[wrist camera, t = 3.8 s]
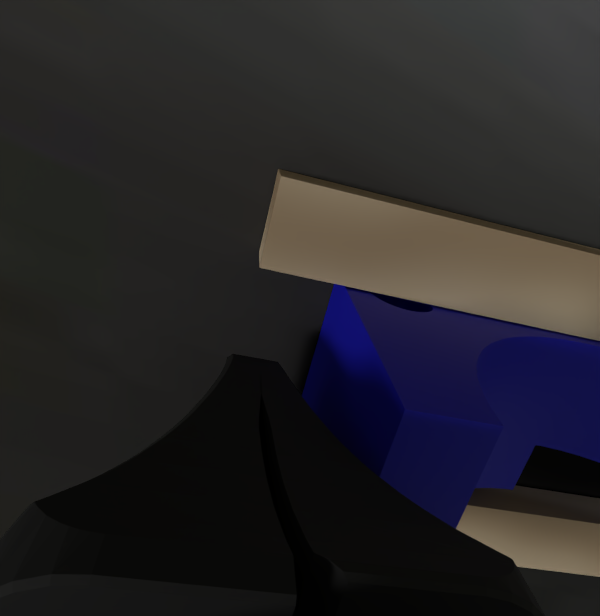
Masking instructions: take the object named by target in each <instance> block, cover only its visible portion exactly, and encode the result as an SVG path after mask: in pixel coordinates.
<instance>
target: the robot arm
mask: <svg viewBox="0 0 600 616" xmlns="http://www.w3.org/2000/svg"><path fill="white" fill-rule="evenodd" d="M0 616H545V615H544V613H543V611H542V610H541V608H540V606H539V604H538V603H537V601H536V599H535V597H534V595H533V594H532V592H531V590H530V588H529V587H528V585H527V583H526V581H525V580H524V578H523V576H522V574H521V573H520V571H519V569H518V567H517V566H516V564H515V563H514V561H513V559H511V558H510V557H508V556H506V555H504V554H502V553H500V552H498V551H496V550H494V549H493V548H491V547H489V546H487V545H485V544H483V543H481V542H479V541H477V540H476V539H474V538H472V537H470V536H468V535H466V534H464V533H462V532H460V531H459V530H457V529H455V528H453V527H452V526H450V525H448V524H447V523H445V522H444V521H442V520H440V519H439V518H437V517H436V516H434V515H432V514H431V513H429V512H428V511H426V510H424V509H423V508H421V507H420V506H418V505H417V504H415V503H414V502H412V501H411V500H410V499H408V498H407V497H405V496H404V495H402V494H401V493H400V492H398V491H397V490H396V489H394V488H393V487H392V486H390V485H389V484H388V483H387V482H385V481H384V480H383V479H381V478H380V477H379V476H377V475H376V474H375V473H374V472H373V471H371V470H370V469H369V468H368V467H367V466H366V465H364V464H363V463H362V462H361V461H360V460H359V459H358V458H357V457H356V456H355V455H354V454H353V453H351V452H350V451H349V450H348V449H347V448H346V447H345V446H344V445H343V444H342V443H341V442H340V441H339V440H338V439H337V438H336V437H335V436H334V435H333V433H332V432H331V431H330V430H329V429H328V428H327V427H326V426H325V424H324V423H323V422H322V421H321V420H320V419H319V417H318V416H317V415H316V414H315V413H314V411H313V410H312V409H311V408H310V406H309V405H308V404H307V402H306V401H305V400H304V398H303V397H302V396H301V394H300V393H299V392H298V390H297V389H296V387H295V386H294V385H293V383H292V382H291V380H290V379H289V377H288V376H287V374H286V373H285V371H284V370H283V368H282V367H281V366H280V364H279V363H278V362H275V361H270V360H264V359H259V358H253V357H247V356H242V355H236V354H232V355H231V356H229V357H227V360H226V364H225V367H224V369H223V370H222V372H221V374H220V375H219V377H218V378H217V380H216V381H215V383H214V384H213V385H212V387H211V388H210V389H209V391H208V392H207V393H206V394H205V396H204V397H203V398H202V399H201V400H200V401H199V402H198V403H197V404H196V406H195V407H194V408H193V409H192V410H191V411H190V412H189V413H188V414H187V415H186V416H185V417H184V418H183V419H182V420H181V421H180V422H179V423H177V424H176V425H175V426H174V427H173V428H172V429H170V430H169V431H168V432H167V433H166V434H164V435H163V436H162V437H161V438H159V439H158V440H157V441H155V442H154V443H152V444H151V445H150V446H148V447H147V448H145V449H144V450H143V451H141V452H140V453H138V454H137V455H135V456H134V457H132V458H130V459H129V460H127V461H125V462H123V463H122V464H120V465H118V466H116V467H114V468H112V469H111V470H109V471H107V472H105V473H103V474H102V475H100V476H97V477H95V478H93V479H91V480H89V481H87V482H84V483H82V484H79V485H77V486H74V487H72V488H69V489H67V490H64V491H61V492H59V493H56V494H54V495H51V496H49V497H46V498H43V499H41V500H38V501H35V502H33V503H32V504H30V505H29V506H28V508H27V509H26V510H25V511H24V512H23V513H22V514H21V515H20V517H19V518H18V519H17V520H16V521H15V522H14V524H13V525H12V526H11V527H10V528H9V530H8V531H7V532H6V533H5V534H4V536H3V537H2V538H1V540H0Z"/></svg>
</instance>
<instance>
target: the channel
mask: <svg viewBox="0 0 600 616" xmlns="http://www.w3.org/2000/svg"><path fill="white" fill-rule="evenodd" d="M259 262H260V268H263V269H268V270H273V271H277V272H282V273H287V274H291V275H296V276H300V277H305V278H310V279H314V280H319V281H324V282H328V283H333V284H338V285H342V286H347V287H351V288H356V289H361V290H365V291H370V292H375V293H379V294H384V295H389V296H393V297H398V298H403V299H407V300H412V301H416V302H421V303H426V304H430V305H435V306H440V307H444V308H449V309H454V310H458V311H463V312H467V313H472V314H477V315H481V316H486V317H491V318H495V319H500V320H505V321H509V322H514V323H518V324H523V325H528V326H532V327H537V328H542V329H546V330H551V331H556V332H560V333H565V334H569V335H574V336H579V337H583V338H588V339H593V340H597V341H600V249H596V248H592V247H588V246H584V245H580V244H576V243H572V242H568V241H564V240H560V239H556V238H552V237H548V236H544V235H540V234H536V233H532V232H528V231H524V230H520V229H516V228H512V227H508V226H504V225H500V224H496V223H492V222H488V221H484V220H480V219H476V218H472V217H468V216H464V215H460V214H456V213H452V212H448V211H444V210H440V209H436V208H432V207H428V206H424V205H420V204H417V203H413V202H409V201H405V200H401V199H397V198H393V197H389V196H385V195H381V194H377V193H373V192H369V191H365V190H361V189H357V188H353V187H349V186H345V185H341V184H337V183H333V182H329V181H325V180H321V179H317V178H313V177H309V176H305V175H301V174H297V173H293V172H289V171H285V170H281V169H278V173H277V178H276V182H275V186H274V191H273V195H272V199H271V203H270V208H269V212H268V216H267V221H266V225H265V229H264V234H263V238H262V242H261V247H260V251H259ZM456 529H457V530H459V531H460V532H462V533H464V534H466V535H468V536H470V537H472V538H474V539H476V540H477V541H479V542H481V543H483V544H485V545H487V546H489V547H491V548H493V549H494V550H496V551H498V552H500V553H502V554H504V555H506V556H508V557H510V558H511V559H513V561H514V563H515V564H516V566H517V567H525V568H533V569H542V570H550V571H558V572H566V573H574V574H582V575H590V576H598V577H600V498H594V497H587V496H581V495H575V494H568V493H562V492H555V491H549V490H542V489H536V488H529V487H523V486H516V485H515V487H514V489H513V490H509V489H498V488H475V489H474V491H473V493H472V496H471V498H470V500H469V502H468V504H467V506H466V508H465V511H464V513H463V515H462V517H461V519H460V521H459V523H458V525H457V528H456Z"/></svg>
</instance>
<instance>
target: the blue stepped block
mask: <svg viewBox="0 0 600 616" xmlns="http://www.w3.org/2000/svg"><path fill="white" fill-rule="evenodd" d="M302 397H303V398H304V400H305V401H306V402H307V404H308V405H309V406H310V408H311V409H312V410H313V411H314V413H315V414H316V415H317V416H318V417H319V419H320V420H321V421H322V422H323V423H324V424H325V426H326V427H327V428H328V429H329V430H330V431H331V432H332V433H333V435H334V436H335V437H336V438H337V439H338V440H339V441H340V442H341V443H342V444H343V445H344V446H345V447H346V448H347V449H348V450H349V451H350V452H351V453H353V454H354V455H355V456H356V457H357V458H358V459H359V460H360V461H361V462H362V463H363V464H364V465H366V466H367V467H368V468H369V469H370V470H371V471H373V472H374V473H375V474H376V475H377V476H379V477H380V478H381V479H383V480H384V481H385V482H387V483H388V484H389V485H390V486H392V487H393V488H394V489H396V490H397V491H398V492H400V493H401V494H402V495H404V496H405V497H407V498H408V499H410V500H411V501H412V502H414V503H415V504H417V505H418V506H420V507H421V508H423V509H424V510H426V511H428V512H429V513H431V514H432V515H434V516H436V517H437V518H439V519H440V520H442V521H444V522H445V523H447V524H448V525H450V526H452V527H453V528H455V529H456V528H457V525H458V523H459V521H460V519H461V517H462V515H463V513H464V511H465V508H466V506H467V504H468V502H469V500H470V498H471V496H472V493H473V491H474V489H475V488H498V489H509V490H513V489H514V487H515V485H516V483H517V481H518V479H519V477H520V475H521V473H522V471H523V469H524V467H525V465H526V463H527V461H528V459H529V457H530V455H531V453H532V451H533V449H534V447H535V445H538V446H543V447H548V448H552V449H556V450H561V451H564V452H568V453H571V454H575V455H578V456H581V457H584V458H587V459H590V460H593V461H596V462H599V463H600V341H597V340H593V339H588V338H583V337H579V336H574V335H569V334H565V333H560V332H556V331H551V330H546V329H542V328H537V327H532V326H528V325H523V324H518V323H514V322H509V321H505V320H500V319H495V318H491V317H486V316H481V315H477V314H472V313H467V312H463V311H458V310H454V309H449V308H444V307H440V306H435V305H430V304H426V303H421V302H416V301H412V300H407V299H403V298H398V297H393V296H389V295H384V294H379V293H375V292H370V291H365V290H361V289H356V288H351V287H347V286H342V285H338V284H334V287H333V290H332V294H331V297H330V300H329V304H328V307H327V311H326V314H325V318H324V321H323V324H322V328H321V331H320V335H319V338H318V342H317V345H316V349H315V352H314V355H313V359H312V362H311V366H310V369H309V373H308V376H307V380H306V383H305V386H304V390H303V393H302Z"/></svg>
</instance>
